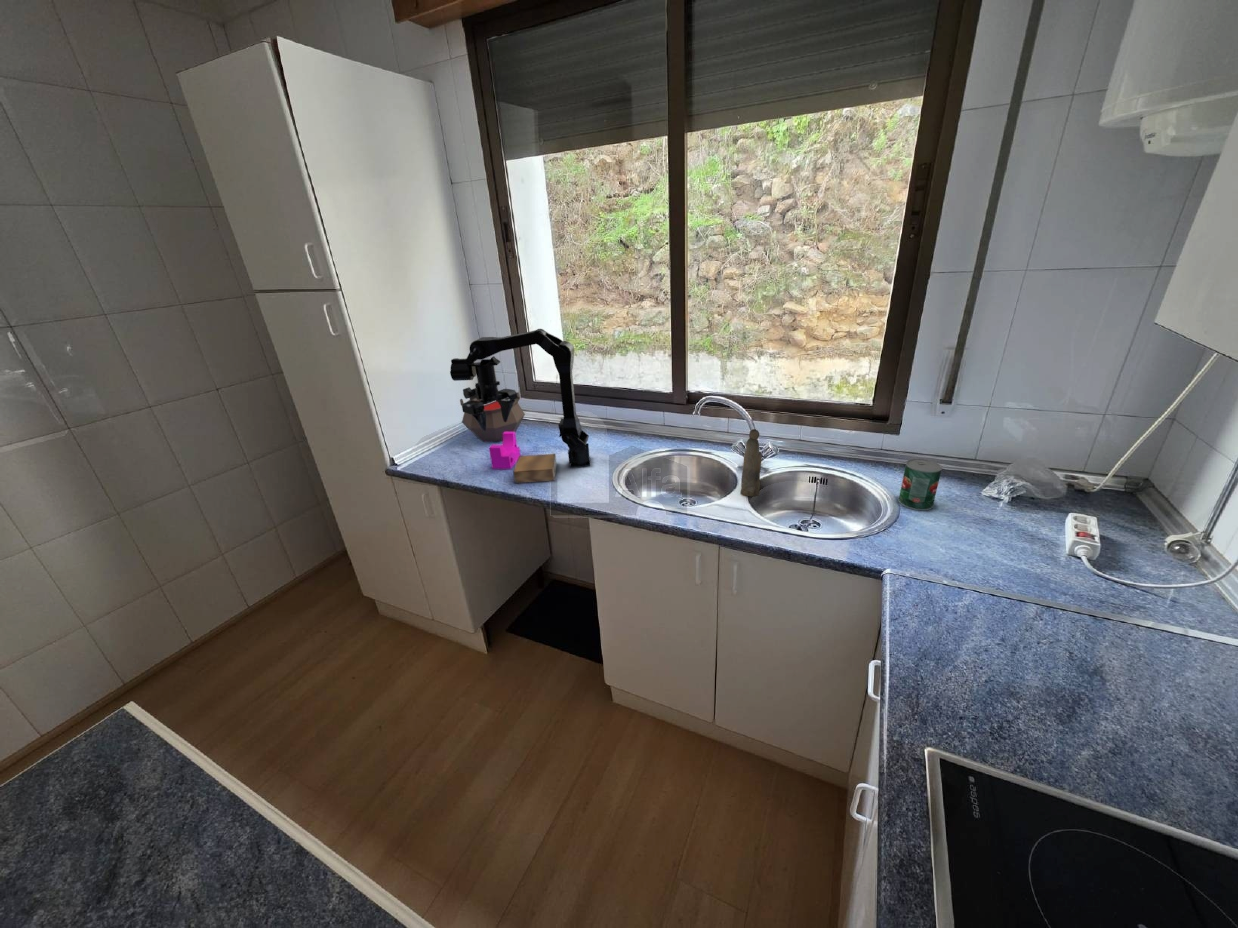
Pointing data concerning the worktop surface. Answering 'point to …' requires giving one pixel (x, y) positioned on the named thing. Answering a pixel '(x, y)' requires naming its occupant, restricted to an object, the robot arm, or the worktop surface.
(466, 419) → the brown faceted pot
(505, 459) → the toy block
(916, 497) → the canned tomato
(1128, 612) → the worktop surface
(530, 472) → the plinth
